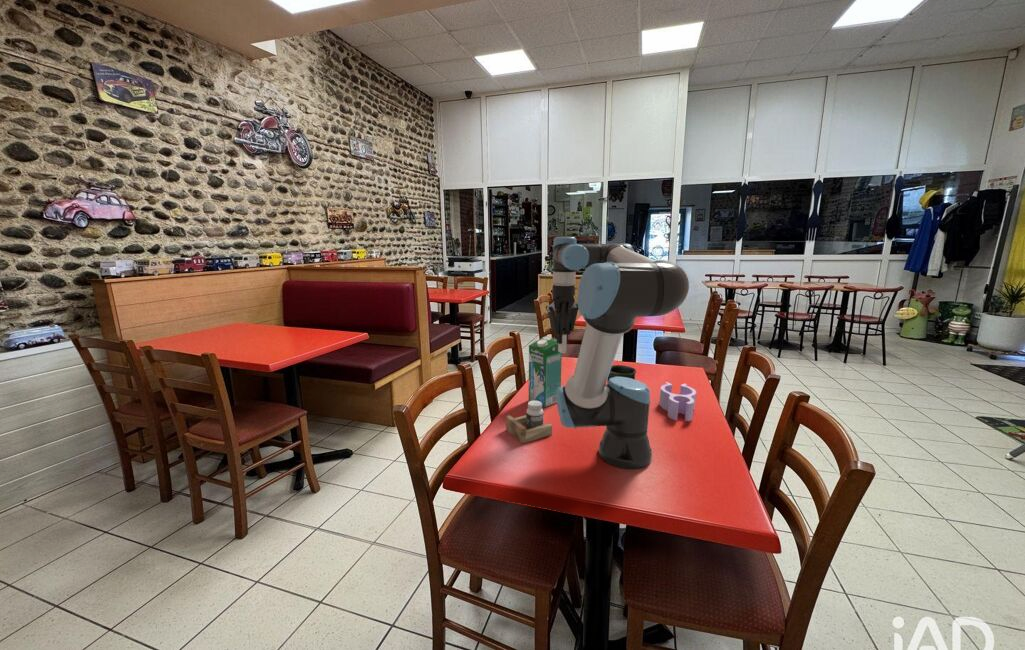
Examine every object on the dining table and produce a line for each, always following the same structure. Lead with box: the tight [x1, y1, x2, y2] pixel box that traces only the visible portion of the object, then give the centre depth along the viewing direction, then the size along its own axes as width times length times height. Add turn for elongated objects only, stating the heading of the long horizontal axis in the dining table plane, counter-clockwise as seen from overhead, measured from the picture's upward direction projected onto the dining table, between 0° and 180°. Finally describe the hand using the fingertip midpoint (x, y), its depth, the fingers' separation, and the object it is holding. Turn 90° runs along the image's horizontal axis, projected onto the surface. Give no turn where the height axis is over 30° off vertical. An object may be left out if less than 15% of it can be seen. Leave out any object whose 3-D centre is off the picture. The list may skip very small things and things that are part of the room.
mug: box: [606, 364, 637, 385], centre depth 161 cm, size 11×15×12 cm
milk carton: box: [528, 335, 563, 408], centre depth 156 cm, size 9×9×25 cm
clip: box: [659, 381, 697, 422], centre depth 150 cm, size 20×12×7 cm, turn 165°
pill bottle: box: [525, 401, 544, 430], centre depth 134 cm, size 6×6×10 cm
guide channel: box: [505, 414, 553, 444], centre depth 134 cm, size 10×12×5 cm
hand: (562, 352), depth 139 cm, fingers closed
